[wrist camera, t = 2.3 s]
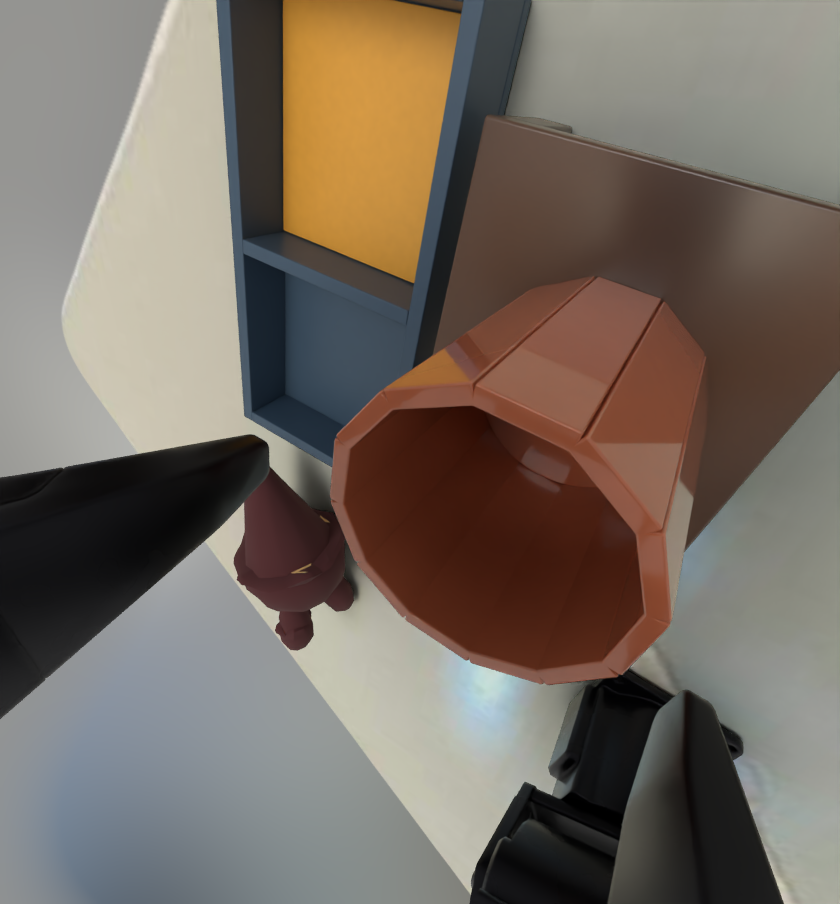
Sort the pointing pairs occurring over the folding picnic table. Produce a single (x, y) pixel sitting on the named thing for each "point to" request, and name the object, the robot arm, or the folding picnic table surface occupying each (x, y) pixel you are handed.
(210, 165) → the folding picnic table surface
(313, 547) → the maroon cone-shaped figurine
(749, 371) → the brown low table
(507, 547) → the cup
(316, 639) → the folding picnic table surface
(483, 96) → the blue divided tray
